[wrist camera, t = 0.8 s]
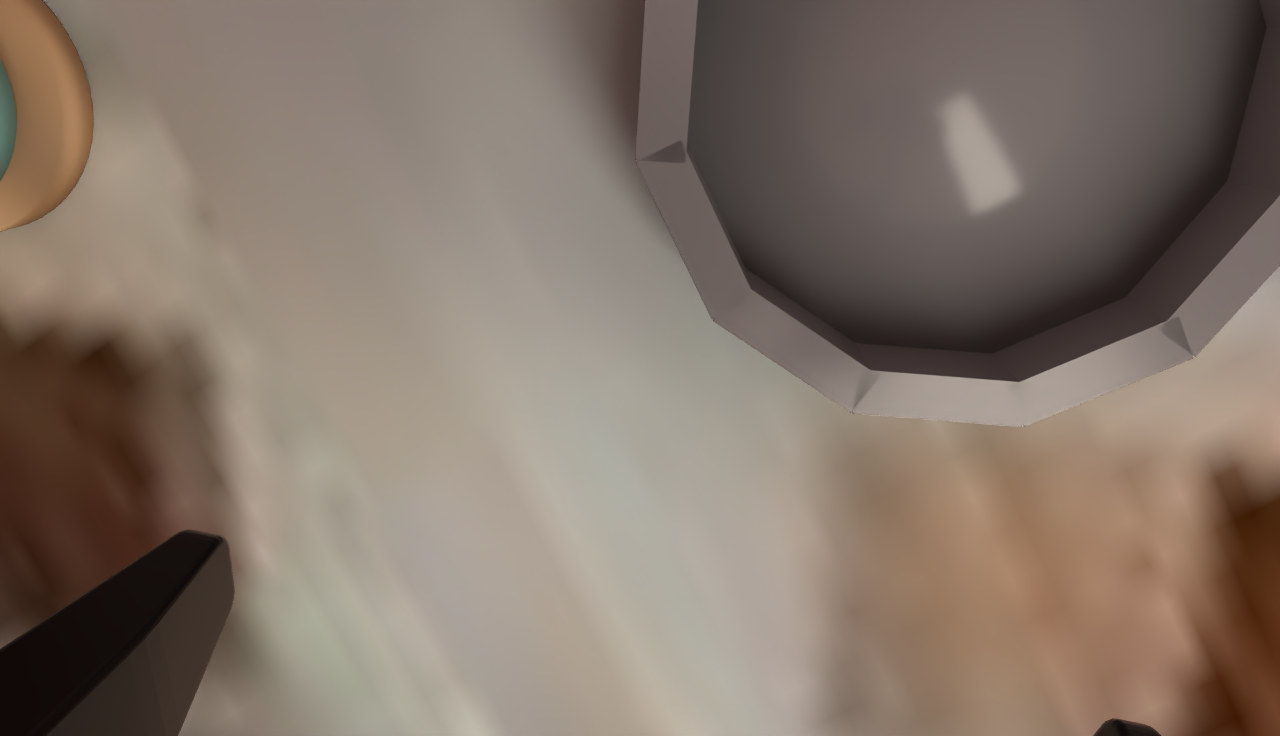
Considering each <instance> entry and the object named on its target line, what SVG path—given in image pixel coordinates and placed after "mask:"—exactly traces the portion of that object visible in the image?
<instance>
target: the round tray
mask: <svg viewBox="0 0 1280 736" xmlns="http://www.w3.org/2000/svg"><path fill="white" fill-rule="evenodd" d="M635 160H637V161H636V164H637V166H638V168H639V170H640V172H641V174H642V176H643V178H644V180H645V183H646V185H647V187H648V189H649V191H650V193H651V195H652V197H653V199H654V201H655V203H656V205H657V207H658V209H659V211H660V213H661V216H662V218H663V220H664V222H665V224H666V226H667V228H668V230H669V232H670V234H671V236H672V238H673V240H674V242H675V244H676V247H677V249H678V251H679V253H680V255H681V257H682V259H683V261H684V263H685V265H686V267H687V269H688V271H689V273H690V275H691V277H692V280H693V282H694V284H695V286H696V288H697V290H698V292H699V294H700V296H701V298H702V300H703V302H704V304H705V306H706V308H707V310H708V313H709V315H710V317H711V319H713V321H714V322H716V323H717V324H719V325H720V326H722V327H723V328H725V329H726V330H728V331H729V332H731V333H732V334H734V335H735V336H737V337H738V338H740V339H741V340H743V341H744V342H745V343H747V344H748V345H750V346H751V347H753V348H754V349H756V350H757V351H759V352H760V353H762V354H763V355H765V356H766V357H768V358H769V359H771V360H772V361H774V362H775V363H777V364H778V365H780V366H781V367H783V368H784V369H786V370H787V371H789V372H790V373H792V374H793V375H795V376H796V377H798V378H799V379H801V380H802V381H804V382H805V383H807V384H808V385H810V386H811V387H813V388H814V389H816V390H817V391H819V392H820V393H822V394H823V395H825V396H826V397H828V398H829V399H831V400H832V401H834V402H835V403H837V404H838V405H840V406H841V407H843V408H844V409H846V410H847V411H849V412H850V413H851V412H852V413H853V414H865V415H877V416H889V417H902V418H914V419H927V420H939V421H951V422H964V423H976V424H988V425H1001V426H1013V427H1022V425H1023V426H1024V427H1025V426H1028V425H1030V424H1033V423H1035V422H1037V421H1040V420H1042V419H1045V418H1047V417H1050V416H1052V415H1055V414H1057V413H1060V412H1062V411H1065V410H1067V409H1070V408H1072V407H1075V406H1077V405H1079V404H1082V403H1084V402H1087V401H1089V400H1092V399H1094V398H1097V397H1099V396H1102V395H1104V394H1107V393H1109V392H1112V391H1114V390H1117V389H1119V388H1121V387H1124V386H1126V385H1129V384H1131V383H1134V382H1136V381H1139V380H1141V379H1144V378H1146V377H1149V376H1151V375H1154V374H1156V373H1158V372H1161V371H1163V370H1166V369H1168V368H1171V367H1173V366H1176V365H1178V364H1181V363H1183V362H1186V361H1188V360H1191V359H1193V356H1194V357H1196V356H1197V355H1198V354H1199V353H1200V351H1201V350H1202V349H1203V348H1204V347H1205V346H1206V345H1207V344H1208V343H1209V342H1210V341H1211V340H1212V338H1213V337H1214V336H1215V335H1216V334H1217V333H1218V332H1219V331H1220V330H1221V329H1222V328H1223V327H1224V325H1225V324H1226V323H1227V322H1228V321H1229V320H1230V319H1231V318H1232V317H1233V316H1234V315H1235V314H1236V312H1237V311H1238V310H1239V309H1240V308H1241V307H1242V306H1243V305H1244V304H1245V303H1246V302H1247V301H1248V299H1249V298H1250V297H1251V296H1252V295H1253V294H1254V293H1255V292H1256V291H1257V290H1258V289H1259V288H1260V286H1261V285H1262V284H1263V283H1264V282H1265V281H1266V280H1267V279H1268V278H1269V277H1270V276H1271V275H1272V273H1273V272H1274V271H1275V270H1276V269H1277V268H1278V267H1279V266H1280V0H645V12H644V28H643V44H642V60H641V76H640V92H639V108H638V125H637V141H636V157H635Z"/></svg>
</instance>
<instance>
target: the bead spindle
mask: <svg viewBox="0 0 1280 736" xmlns="http://www.w3.org/2000/svg"><path fill="white" fill-rule="evenodd" d="M92 135H93V105H92V99H91V93H90V87H89V83H88V80H87V77H86V73H85V70H84V67H83V64H82V62H81V60H80V57H79V55H78V53H77V50H76V48H75V46H74V44H73V43H72V41H71V39H70V37H69V35H68V34H67V32H66V30H65V29H64V27H63V26H62V25H61V23H60V22H59V20H58V19H57V18H56V16H55V15H54V13H53V12H52V11H51V10H50V9H49V8H48V7H47V6H46V4H45V3H44V2H43V1H42V0H0V231H3V230H7V229H11V228H15V227H18V226H22V225H26V224H29V223H31V222H33V221H35V220H37V219H39V218H42V217H43V216H45V215H46V214H48V213H49V212H51V211H52V210H54V209H55V208H56V207H57V206H58V205H59V204H60V203H61V202H62V201H63V200H65V199H66V197H67V196H68V195H69V194H70V192H71V191H72V190H73V188H74V187H75V186H76V184H77V182H78V180H79V178H80V177H81V175H82V173H83V171H84V168H85V165H86V162H87V160H88V157H89V152H90V148H91V143H92Z"/></svg>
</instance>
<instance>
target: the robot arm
mask: <svg viewBox="0 0 1280 736" xmlns="http://www.w3.org/2000/svg"><path fill="white" fill-rule="evenodd" d="M234 592H235V590H234V580H233V572H232V564H231V556H230V549H229V544H228V541H227V540H226V539H225V538H224V537H223V536H221V535H217V534H212V533H207V532H202V531H197V530H184V531H181V532H178V533H177V534H175V535H173V536H172V537H170V538H169V539H167V540H166V541H164V542H163V543H161V544H160V545H158V546H157V547H155V548H154V549H152V550H150V551H149V552H147V553H146V554H144V555H143V556H141V557H140V558H138V559H137V560H135V561H134V562H132V563H131V564H129V565H128V566H126V567H125V568H123V569H122V570H120V571H118V572H117V573H115V574H114V575H112V576H111V577H109V578H108V579H106V580H105V581H103V582H102V583H100V584H99V585H97V586H96V587H94V588H93V589H91V590H89V591H88V592H86V593H85V594H83V595H82V596H80V597H79V598H77V599H76V600H74V601H73V602H71V603H70V604H68V605H67V606H65V607H64V608H62V609H60V610H59V611H57V612H56V613H54V614H53V615H51V616H50V617H48V618H47V619H45V620H44V621H42V622H41V623H39V624H38V625H36V626H35V627H33V628H31V629H30V630H28V631H27V632H25V633H24V634H22V635H21V636H19V637H18V638H16V639H15V640H13V641H12V642H10V643H9V644H7V645H6V646H4V647H2V648H1V649H0V736H178V734H179V732H180V730H181V728H182V725H183V723H184V720H185V718H186V716H187V713H188V711H189V709H190V706H191V704H192V701H193V699H194V697H195V694H196V692H197V690H198V687H199V685H200V682H201V680H202V678H203V675H204V673H205V671H206V668H207V666H208V663H209V661H210V659H211V656H212V654H213V651H214V649H215V647H216V644H217V642H218V640H219V637H220V635H221V632H222V630H223V628H224V625H225V623H226V621H227V618H228V616H229V613H230V611H231V608H232V604H233V600H234ZM1093 736H1161V735H1160V734H1159V733H1158V732H1157V731H1156V730H1154V729H1153V728H1152V727H1150V726H1147V725H1145V724H1140V723H1136V722H1131V721H1126V720H1121V719H1110V720H1107V721H1105V722H1104V723H1103V724H1102V725H1101V727H1100V728H1099V729H1098V730H1097V732H1096V733H1095V734H1094V735H1093Z"/></svg>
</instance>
